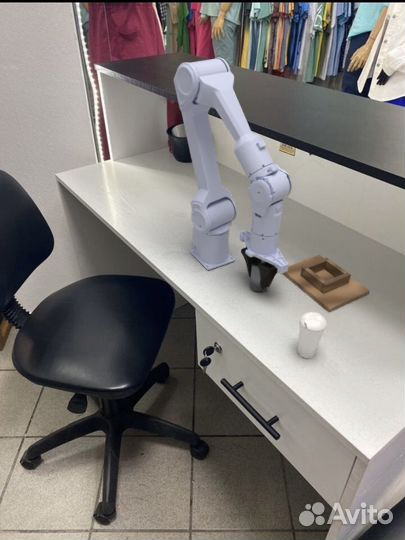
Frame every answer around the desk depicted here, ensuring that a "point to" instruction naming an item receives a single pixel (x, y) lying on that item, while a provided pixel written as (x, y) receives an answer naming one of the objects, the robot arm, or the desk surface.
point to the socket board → (325, 282)
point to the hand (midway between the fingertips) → (259, 281)
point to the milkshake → (310, 333)
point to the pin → (256, 277)
